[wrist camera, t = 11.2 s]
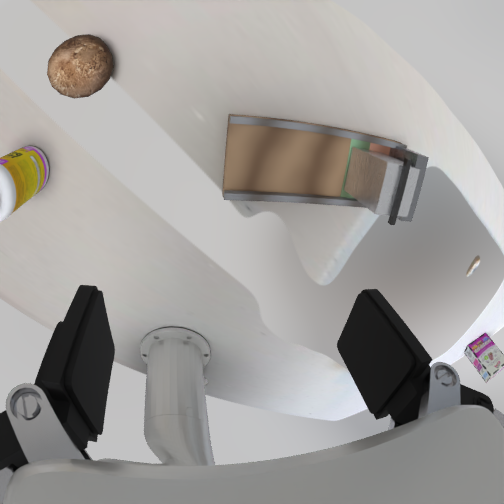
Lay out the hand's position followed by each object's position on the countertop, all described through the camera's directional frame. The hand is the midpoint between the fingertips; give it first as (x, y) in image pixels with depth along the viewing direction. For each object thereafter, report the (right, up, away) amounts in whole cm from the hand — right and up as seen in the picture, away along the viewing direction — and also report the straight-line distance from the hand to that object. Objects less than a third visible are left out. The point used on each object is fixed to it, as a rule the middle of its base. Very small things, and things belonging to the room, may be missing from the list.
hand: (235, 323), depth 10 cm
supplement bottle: (-28, +13, +18) cm, 36 cm away
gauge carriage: (+16, +13, +26) cm, 33 cm away
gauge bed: (+9, +14, +26) cm, 31 cm away
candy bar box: (+83, -31, +68) cm, 111 cm away
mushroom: (-18, +24, +14) cm, 33 cm away
